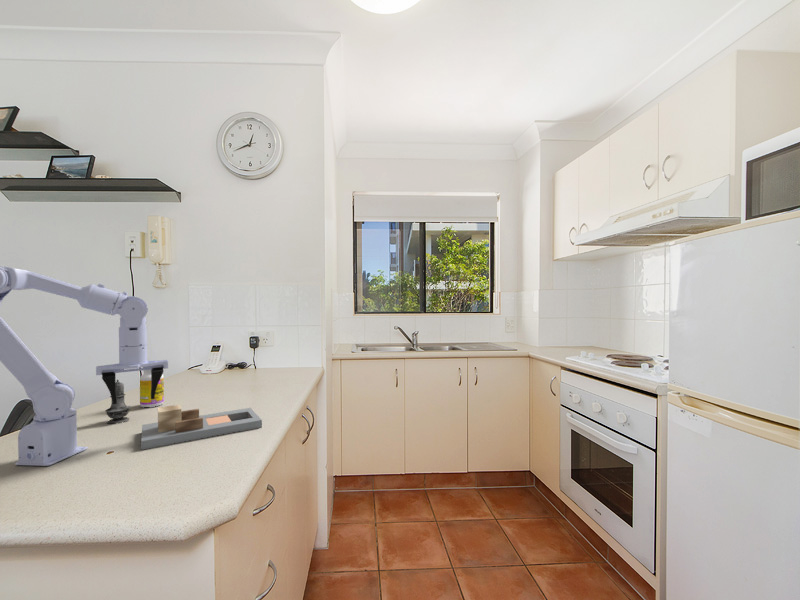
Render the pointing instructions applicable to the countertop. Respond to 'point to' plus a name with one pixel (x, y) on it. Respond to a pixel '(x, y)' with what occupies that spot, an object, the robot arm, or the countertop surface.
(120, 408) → the salt shaker
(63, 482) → the countertop surface
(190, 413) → the channel walls
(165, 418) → the block
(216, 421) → the tile
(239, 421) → the deck
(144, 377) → the supplement bottle
